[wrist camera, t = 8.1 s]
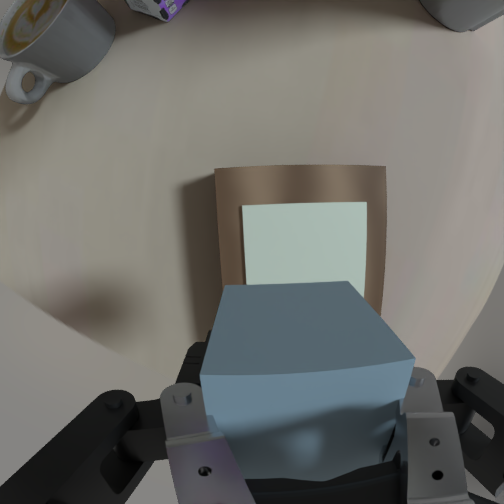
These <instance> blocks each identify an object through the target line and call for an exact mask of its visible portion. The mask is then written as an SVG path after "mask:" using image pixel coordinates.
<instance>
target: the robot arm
mask: <svg viewBox="0 0 504 504" xmlns="http://www.w3.org/2000/svg"><path fill="white" fill-rule="evenodd" d="M420 2H421V3H422V5H423V6H424V7H425V8H426V10H427V11H428V12H429V13H430V14H431V15H432V16H433V17H434V18H435V19H437V20H438V21H439V22H440V23H442V24H443V25H445V26H446V27H448V28H450V29H452V30H455V31H458V32H465V31H467V30H469V29H470V30H473V31H475V30H477V29H479V28H480V27H482V26H484V25H486V24H487V23H489V22H491V21H493V20H494V19H496V18H498V17H500V16H502V15H504V0H420ZM211 332H212V330H209V332H208V335H207V338H206V342H196V343H194V344H193V345H192V346H191V347H190V348H189V349H188V351H187V354H186V358H185V359H184V361H183V364H182V367H181V369H180V372H179V375H178V377H177V380H176V383H175V384H173V385H171V386H169V387H167V388H165V389H164V390H163V391H162V393H161V395H160V398H159V399H156V400H150V401H141V402H136V401H135V398H134V396H133V395H132V394H131V393H129V392H127V391H124V390H111V391H107V392H105V393H102V394H101V395H99V396H98V397H97V398H96V399H95V400H94V401H93V402H91V403H90V404H89V405H88V406H87V407H86V408H85V409H84V410H83V411H82V412H81V413H80V414H78V415H77V416H76V418H74V419H73V420H72V421H71V422H70V423H69V424H68V425H67V426H66V427H64V428H63V429H62V430H61V431H60V432H59V433H58V434H57V435H56V436H55V437H54V438H52V440H50V441H49V442H48V443H47V444H46V445H45V446H44V447H43V448H42V449H41V450H39V451H38V452H37V453H36V454H35V455H34V456H33V457H32V458H31V459H30V460H29V461H28V462H26V463H25V464H24V465H23V466H22V467H21V468H20V469H19V470H18V471H17V472H16V473H14V474H13V475H12V476H11V477H10V478H9V479H8V480H7V481H6V482H5V483H4V484H3V485H1V486H0V504H125V502H126V501H127V500H128V498H129V497H130V495H131V494H132V493H133V491H134V490H135V488H136V487H137V486H138V484H139V483H140V481H141V480H142V478H143V477H144V476H145V474H146V472H147V471H148V470H149V468H150V467H151V466H152V464H153V463H154V461H155V460H164V459H169V464H170V469H171V474H172V478H173V482H174V487H175V491H176V495H177V499H178V503H179V504H504V384H502V383H501V382H499V381H498V380H496V379H495V378H493V377H492V376H490V375H489V374H487V373H486V372H484V371H483V370H481V369H479V368H475V367H463V368H461V369H459V370H458V371H457V373H456V375H455V378H454V380H436V378H435V376H434V374H433V373H432V372H430V371H429V370H427V369H424V368H420V367H413V370H412V374H411V377H410V381H409V384H408V388H407V391H406V394H405V397H404V398H402V399H399V402H398V405H397V408H396V411H395V413H396V424H395V426H394V429H393V432H392V434H391V437H390V439H389V442H388V444H387V445H383V447H382V449H381V452H380V454H379V464H376V465H371V466H366V467H362V468H358V469H356V470H353V471H351V472H349V473H346V474H343V475H341V476H338V477H335V478H333V479H330V480H327V481H310V480H299V479H290V478H266V479H244V478H243V476H242V474H241V471H240V469H239V467H238V465H237V463H236V460H235V458H234V456H233V454H232V451H231V449H230V447H229V445H228V442H227V440H226V437H225V435H224V433H223V432H222V431H219V430H218V427H217V425H216V422H215V419H214V417H213V415H206V411H205V405H204V399H203V393H202V387H201V380H200V372H201V368H202V364H203V361H204V357H205V354H206V350H207V347H208V343H209V339H210V336H211ZM476 412H477V413H478V414H480V415H481V416H482V417H483V418H485V419H486V420H487V421H488V422H490V423H491V424H492V425H493V427H494V430H495V434H494V437H493V439H492V440H491V439H490V438H489V437H488V436H486V435H485V434H484V433H483V432H482V431H480V430H479V429H478V428H477V427H475V426H474V425H473V424H472V423H471V421H472V419H473V417H474V415H475V413H476ZM464 467H465V468H466V469H467V470H468V471H469V472H470V473H471V474H472V475H473V476H474V477H475V478H476V479H477V480H478V481H479V482H480V483H481V484H482V485H483V486H484V487H485V488H486V489H487V490H488V491H489V492H490V493H491V494H492V495H494V496H495V500H496V502H494V501H491V500H488V499H486V498H483V497H480V496H478V495H475V494H473V493H470V492H468V491H467V483H466V475H465V468H464Z"/></svg>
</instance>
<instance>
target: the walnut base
mask: <svg viewBox="0 0 504 504" xmlns="http://www.w3.org/2000/svg"><path fill="white" fill-rule="evenodd" d="M214 170H215V189H216V206H217V222H218V236H219V250H220V264H221V276H222V289H223V290H224V287H225V285H255V284H286V283H311V282H333V281H349V282H350V284H351V285H352V286H353V287H354V288H355V289H356V290H357V291H358V292H359V293H360V295H361V296H362V297H363V298H364V299H365V300H366V301H367V302H368V303H369V305H370V306H371V307H372V308H373V309H374V310H375V311H376V312H377V314H378V315H379V316H381V307H382V297H383V286H384V273H385V256H386V227H387V191H386V166H366V165H274V166H250V167H232V168H217V169H214Z"/></svg>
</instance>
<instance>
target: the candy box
mask: <svg viewBox="0 0 504 504" xmlns="http://www.w3.org/2000/svg"><path fill="white" fill-rule="evenodd" d="M188 1H189V0H125V2H126V3H127V5H128V6H129V7H130V9H132V10H135V11H138V12H141V13H144V14H147V15H149V16H152V17H154V18H156V19H159V20H162V21H165V22H168V21H170V20H171V19H172V17H174V16H175V15H176V13H177V12H178V11H179V10H180V9H181V8H182V7H183V6H184V5H185V4H186V3H187V2H188Z"/></svg>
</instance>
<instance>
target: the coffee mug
mask: <svg viewBox="0 0 504 504" xmlns="http://www.w3.org/2000/svg"><path fill="white" fill-rule="evenodd" d="M114 36H115V23H114V20H113V18H112V17H111V16H110V15H109V14H108V13H107V11H106V10H105V9H104V8H103V7H102V6H101V5H100V4H99V3H98V2H97V1H96V0H15V2H14V3H13V4H12V5H11V6H10V8H9V9H8V11H7V12H6V14H5V15H4V17H3V19H2V21H1V23H0V58H2V59H4V60H7V61H11V62H12V67H11V69H10V72H9V74H8V77H7V80H6V87H5V88H6V93H7V96H8V97H9V98H10V99H11V100H12V101H14V102H17V103H20V104H32V103H35V102H36V101H38V100H39V99H41V97H42V96H43V95H44V94H45V92H46V91H47V89H48V88H49V86H50V85H51V84H52V83H53V82H58V83H67V82H72V81H75V80H77V79H79V78H81V77H82V76H84V75H86V74H87V73H88V72H90V71H91V70H92V69H93V68H94V67H95V66H96V65H98V64H99V62H100V61H101V60H102V59H103V58H104V56H105V55H106V53H107V52H108V50H109V48H110V46H111V44H112V42H113V39H114ZM29 71H30V72H31V73H33V74H34V76H35V85H34V87H33V89H32V90H31V91H30V92H25V91H24V90H23V89H22V79H23V77H24V75H25V74H26V73H27V72H29Z"/></svg>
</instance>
